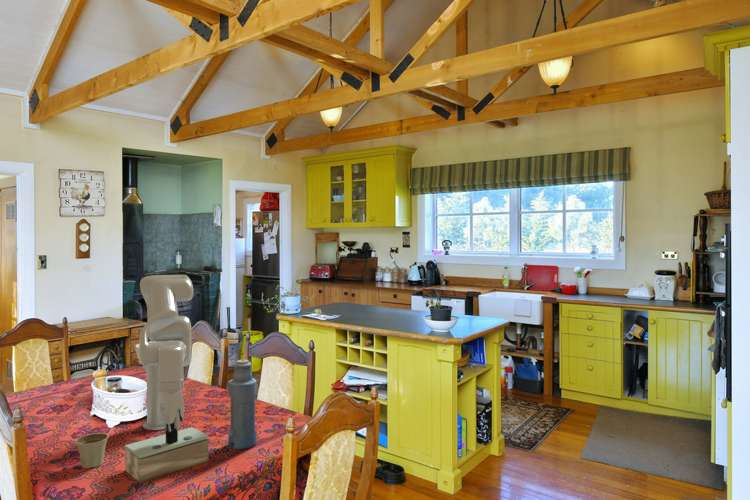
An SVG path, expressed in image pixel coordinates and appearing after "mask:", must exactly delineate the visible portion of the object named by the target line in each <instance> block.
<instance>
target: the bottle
mask: <svg viewBox="0 0 750 500" xmlns="http://www.w3.org/2000/svg"><path fill="white" fill-rule="evenodd" d="M233 368H234V369H233V378H232V379H230V380H229V381H228V394H229V396H230V427H229V430H228V438H227V439H228V447H229V448H231V449H233V450H245V449H250V448H252V447H254V446H255V445H256V444H257V441H258V440H257V435H258V433H257V431H256V426H255V425H256V420H255V419H256V417H255V416H256V406H255V405H256V395H257V391H258V390H257V379H255V378H254V377H253V374H252V363H251V362H250V361H249V360H248V359H238V360H237V361H236V362H234V364H233Z"/></svg>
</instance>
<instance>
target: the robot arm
mask: <svg viewBox="0 0 750 500" xmlns="http://www.w3.org/2000/svg"><path fill="white" fill-rule="evenodd" d="M139 288H140V292H141V295H142V298H143V300H144V301H145V304H146V308H147V309H146V310H147V314H146V315H147V316H146V317H147V322H146V323H145V324H144V326H143V327H142V329H141V331H140V333H139V338H138V344H139V353H140V360H141V363H142V364H141V365H142V366H143V365H145V367H146V368H145V376H146V414H147V415H146V418H147V419H146V420H145V421H144V422H142V428H143V429H144V430H147V431H162V430H165V434H166V443H167V444H171V443H175V442H177V441H178V431H179V429H180V427H181V426H182V425H181V422H183V421H184V420H185V419H184V418H185V408H184V406H185V405H184V404H185V403H184V393H183V390H184V389H185V388H184V386H185V384H184V383H185V379H184V375H185V374H184V367H187V366H189V365H191V362H192V358H193V357H192V355H193V351H192V349H193V345H192V344H193V343H192V335H193V334H192V323H191V319H190V318H189V317H188V316H186V315H179V310H178V303H179V302H180V303H181V302H190V301H192V299H193V298H194V285H193V282H192V280H191V279H190V277H189V276H188V275H186V274H158V275H155V274H154V275H148V276H144V277H142V278H141V280H140V282H139ZM149 341H152V342H153V341H155V342H153V343H148V342H149ZM161 341H164V342H161Z"/></svg>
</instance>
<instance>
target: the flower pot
mask: <svg viewBox="0 0 750 500" xmlns="http://www.w3.org/2000/svg"><path fill="white" fill-rule="evenodd" d="M109 437H110V436H109V434H108V433H105V432H97V433H88V434H85V435H82V436H80V437H78V438H77V439H75V442H74V443H75V444H76V446H77V448H78V452H79V458H80V466H81V468H82V469H91V468H97V467H100V466H101V465H103V464H104V461H105V452H106V444H107V442H108V438H109Z"/></svg>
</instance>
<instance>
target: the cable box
mask: <svg viewBox="0 0 750 500" xmlns="http://www.w3.org/2000/svg"><path fill="white" fill-rule="evenodd" d="M209 460H210V459H209V438H208V439H205V440H201V441H198V442H194V443H191V444H188V445H184V446H181V447H177V448H174V449H171V450H167V451H164V452H160V453H157V454H154V455H150V456H147V457H143V458H138V457H137V456H135V455H134V454H132V453H131V452H129V451H128V450H126V449H125V448H124V463H125V464H124V466H125V467H124V468H125V472H127V474H128V475H130V476H131V478H133V479H134V480H136V482H137V483H139V484H141V483H145V482H147V481H150V480H154V479H157V478H160V477H163V476H165V475H166V476H167V475H169V474H172V473H175V472H178V471H181V470H184V469H188V468H190V467H194V466H197V465H200V464H203V463H205V462H209Z"/></svg>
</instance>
